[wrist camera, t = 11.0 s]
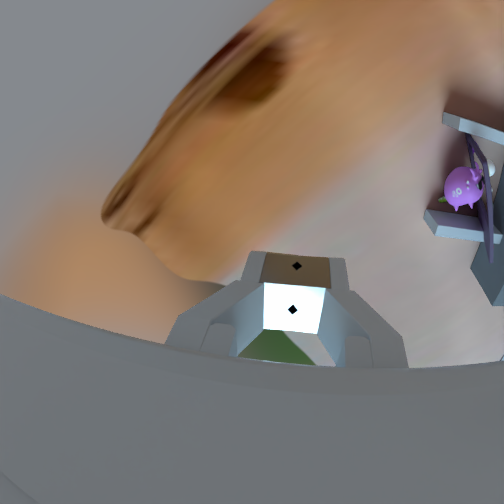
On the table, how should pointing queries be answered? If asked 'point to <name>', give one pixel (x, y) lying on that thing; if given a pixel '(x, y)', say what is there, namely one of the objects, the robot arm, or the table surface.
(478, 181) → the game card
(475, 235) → the charging dock
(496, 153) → the table surface
